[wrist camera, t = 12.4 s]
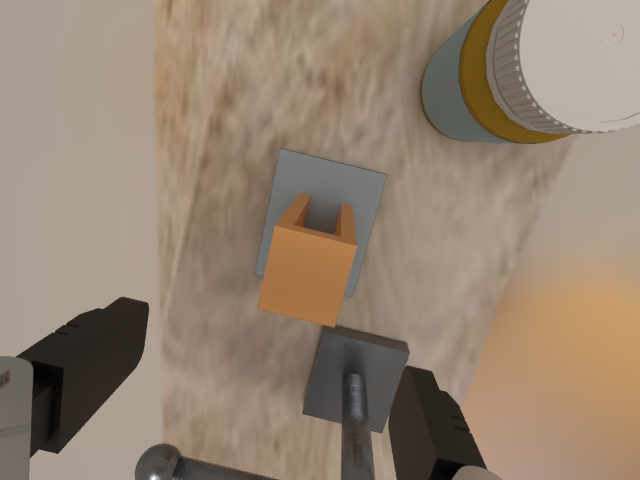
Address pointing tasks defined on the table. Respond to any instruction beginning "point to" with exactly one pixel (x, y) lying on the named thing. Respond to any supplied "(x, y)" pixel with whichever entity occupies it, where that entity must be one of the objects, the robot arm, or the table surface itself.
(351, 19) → the table surface
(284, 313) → the link
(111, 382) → the robot arm
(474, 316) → the table surface
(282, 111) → the table surface
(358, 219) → the mat
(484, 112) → the bottle
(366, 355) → the stand
